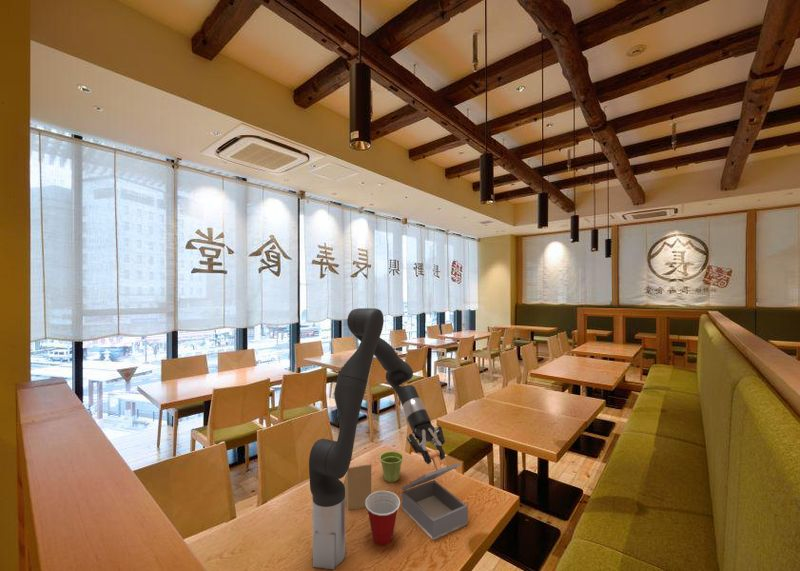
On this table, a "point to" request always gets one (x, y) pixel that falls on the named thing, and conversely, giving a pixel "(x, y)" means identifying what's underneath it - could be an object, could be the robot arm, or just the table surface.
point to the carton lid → (434, 474)
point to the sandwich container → (357, 486)
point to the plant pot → (391, 465)
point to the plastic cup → (382, 515)
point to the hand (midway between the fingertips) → (436, 460)
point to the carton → (434, 509)
